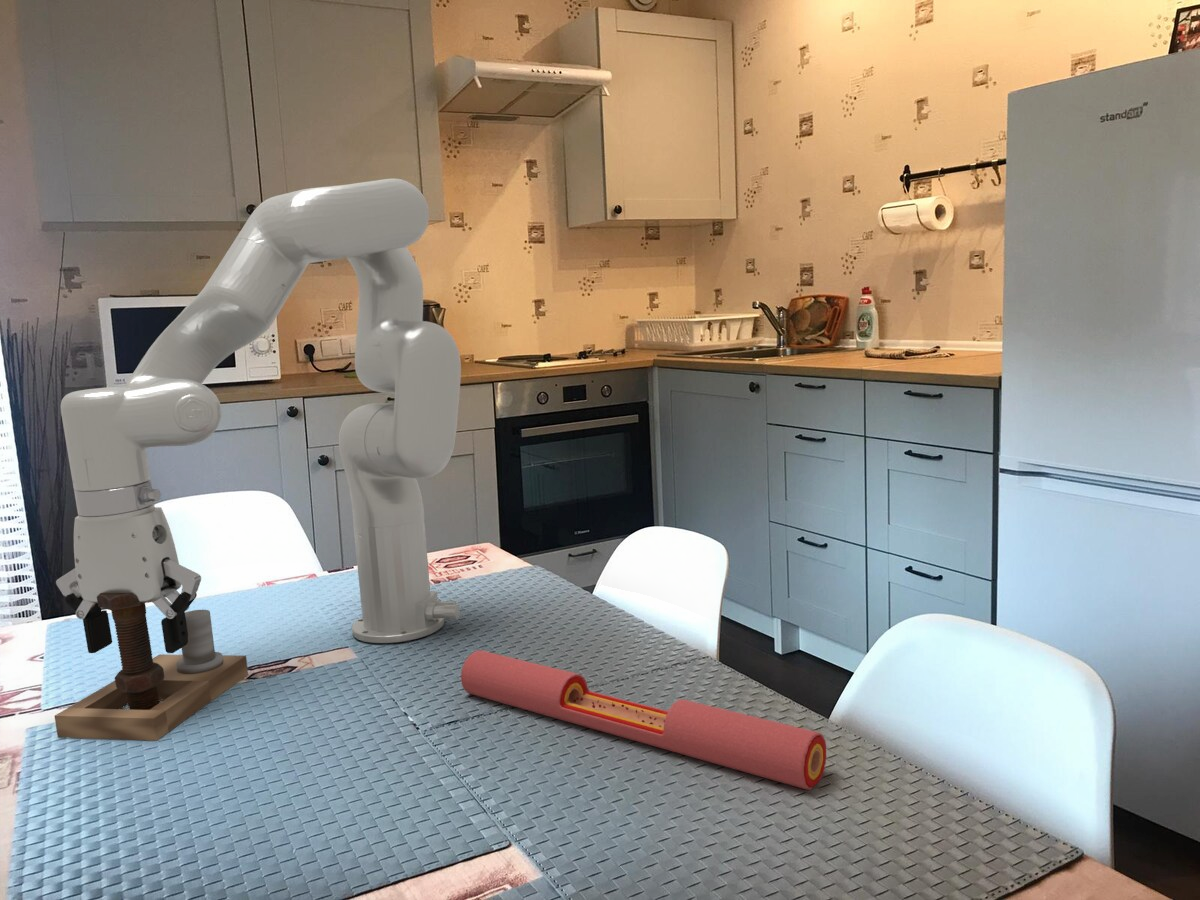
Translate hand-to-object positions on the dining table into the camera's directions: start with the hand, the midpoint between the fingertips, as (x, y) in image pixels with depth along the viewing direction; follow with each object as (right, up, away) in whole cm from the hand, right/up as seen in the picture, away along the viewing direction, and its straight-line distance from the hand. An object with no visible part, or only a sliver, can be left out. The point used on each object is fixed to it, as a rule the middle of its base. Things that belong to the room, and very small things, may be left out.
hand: (138, 648), depth 106 cm
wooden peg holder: (+1, -7, +4) cm, 8 cm away
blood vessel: (+54, -7, -10) cm, 56 cm away
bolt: (0, -8, +1) cm, 8 cm away
